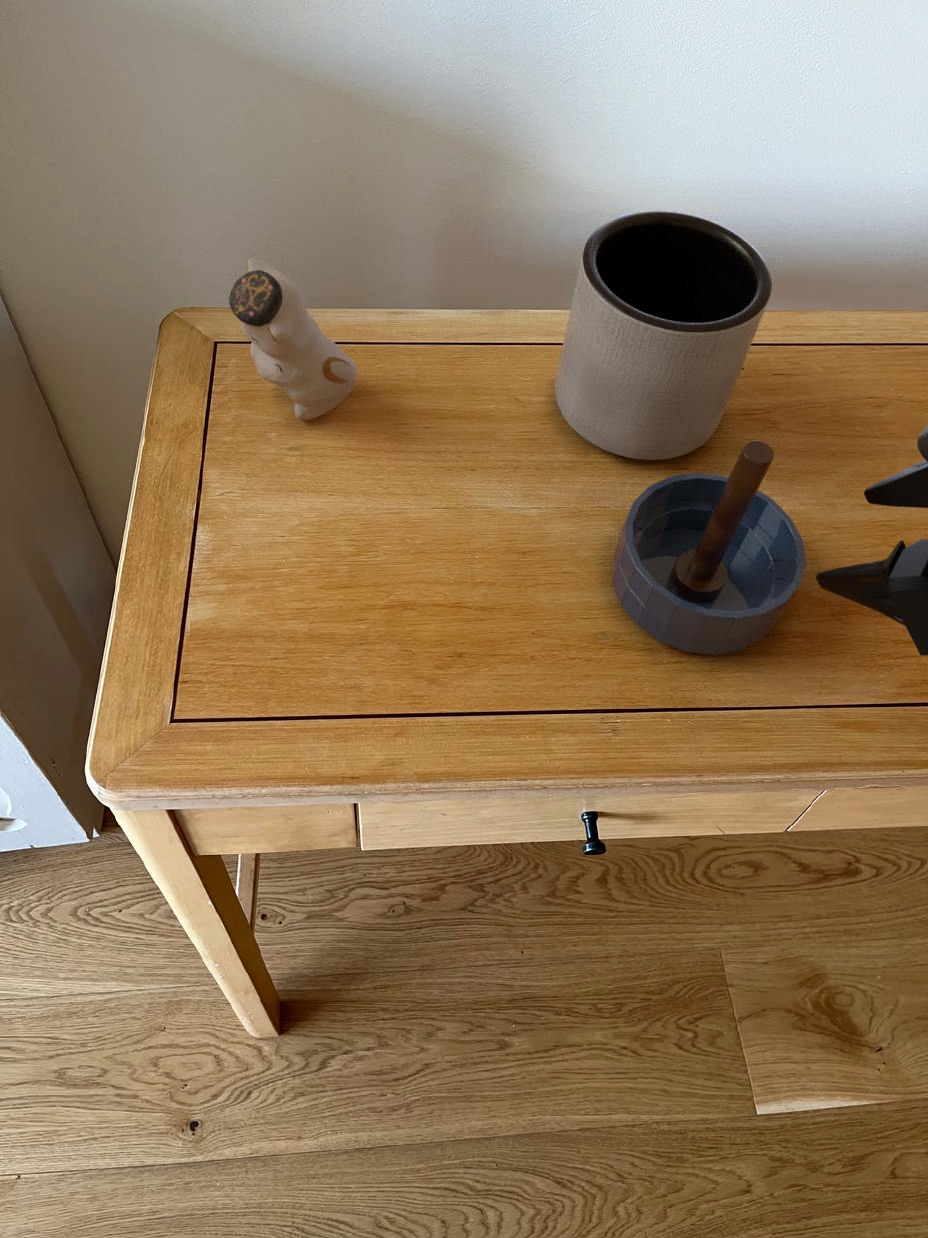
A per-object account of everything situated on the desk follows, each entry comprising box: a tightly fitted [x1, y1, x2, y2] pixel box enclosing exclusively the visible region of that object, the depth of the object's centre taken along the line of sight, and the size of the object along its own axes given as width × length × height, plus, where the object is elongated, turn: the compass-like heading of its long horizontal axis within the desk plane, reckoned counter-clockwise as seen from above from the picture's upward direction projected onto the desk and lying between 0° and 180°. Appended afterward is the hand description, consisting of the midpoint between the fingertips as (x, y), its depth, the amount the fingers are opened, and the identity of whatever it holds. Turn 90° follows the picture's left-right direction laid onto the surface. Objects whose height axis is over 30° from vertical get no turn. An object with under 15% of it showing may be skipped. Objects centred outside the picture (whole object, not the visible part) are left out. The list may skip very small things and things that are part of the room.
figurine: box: [228, 257, 358, 421], centre depth 80 cm, size 9×10×15 cm
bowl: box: [611, 472, 807, 656], centre depth 75 cm, size 14×14×6 cm
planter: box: [554, 210, 773, 461], centre depth 82 cm, size 16×16×16 cm
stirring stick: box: [670, 439, 775, 603], centre depth 71 cm, size 4×4×16 cm
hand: (843, 537), depth 64 cm, fingers open, 9 cm apart
